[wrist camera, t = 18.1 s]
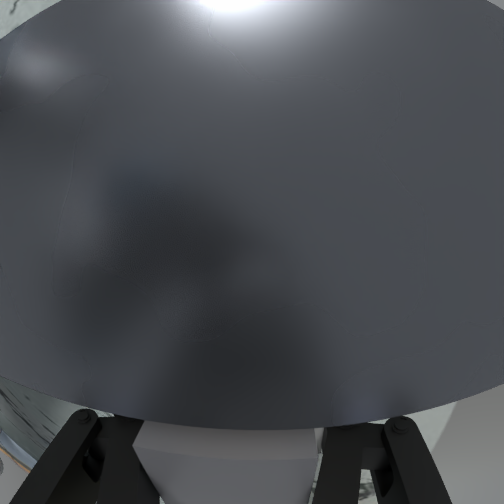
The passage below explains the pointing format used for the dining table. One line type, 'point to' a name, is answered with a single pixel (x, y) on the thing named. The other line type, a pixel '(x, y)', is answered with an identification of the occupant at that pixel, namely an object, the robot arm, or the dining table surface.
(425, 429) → the dining table surface
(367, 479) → the dining table surface
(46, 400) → the dining table surface
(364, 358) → the grey rectangular arch
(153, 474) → the plug
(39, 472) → the robot arm
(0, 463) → the teacup
